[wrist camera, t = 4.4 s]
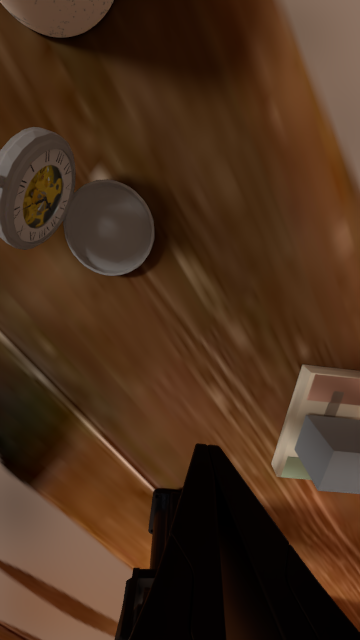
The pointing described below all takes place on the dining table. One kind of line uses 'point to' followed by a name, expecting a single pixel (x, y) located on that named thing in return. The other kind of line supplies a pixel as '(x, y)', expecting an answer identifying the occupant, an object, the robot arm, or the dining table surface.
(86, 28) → the teacup with lid
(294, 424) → the cream flat rectangular block
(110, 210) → the pocket watch
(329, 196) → the dining table surface
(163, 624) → the robot arm
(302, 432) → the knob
